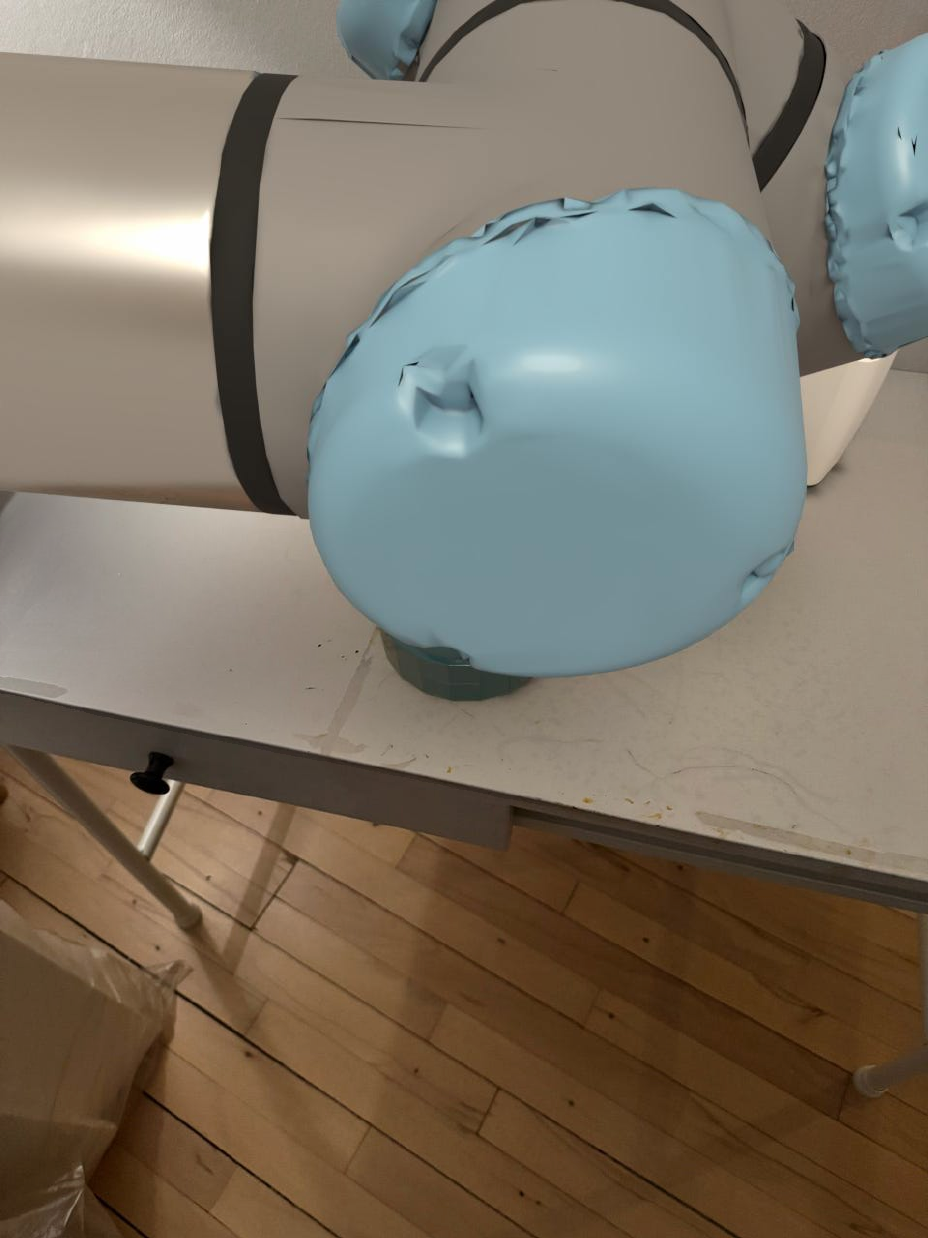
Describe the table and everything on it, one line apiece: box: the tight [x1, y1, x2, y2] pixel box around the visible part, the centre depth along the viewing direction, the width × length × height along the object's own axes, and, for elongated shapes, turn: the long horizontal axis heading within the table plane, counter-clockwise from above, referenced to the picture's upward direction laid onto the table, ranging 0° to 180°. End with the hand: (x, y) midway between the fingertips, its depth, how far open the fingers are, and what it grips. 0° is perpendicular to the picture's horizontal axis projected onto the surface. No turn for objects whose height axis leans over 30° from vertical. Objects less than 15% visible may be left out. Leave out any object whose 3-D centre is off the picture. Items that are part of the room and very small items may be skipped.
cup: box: [800, 349, 900, 486], centre depth 71 cm, size 7×7×15 cm
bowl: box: [378, 627, 535, 702], centre depth 65 cm, size 14×14×6 cm
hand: (406, 442), depth 56 cm, fingers closed on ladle, 2 cm apart
